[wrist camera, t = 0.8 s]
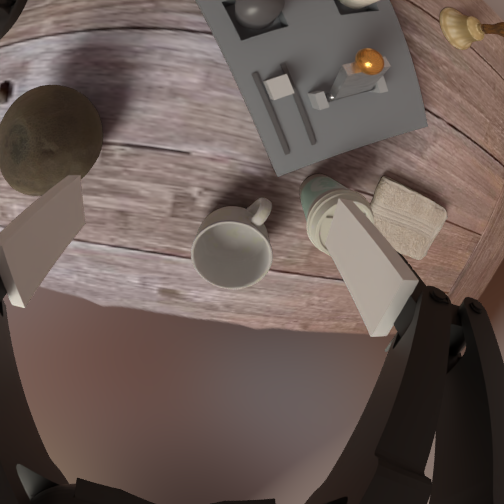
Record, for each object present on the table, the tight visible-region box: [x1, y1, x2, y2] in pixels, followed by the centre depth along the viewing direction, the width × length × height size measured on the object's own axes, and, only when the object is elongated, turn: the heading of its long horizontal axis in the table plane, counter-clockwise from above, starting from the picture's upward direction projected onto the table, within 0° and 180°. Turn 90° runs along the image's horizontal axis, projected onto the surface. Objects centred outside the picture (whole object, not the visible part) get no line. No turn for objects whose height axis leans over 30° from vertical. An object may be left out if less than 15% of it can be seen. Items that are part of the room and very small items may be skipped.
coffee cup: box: [299, 174, 374, 256], centre depth 36 cm, size 9×8×12 cm
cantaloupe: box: [0, 85, 103, 196], centre depth 26 cm, size 14×14×15 cm
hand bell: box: [440, 7, 504, 50], centre depth 18 cm, size 8×8×16 cm
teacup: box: [191, 197, 273, 289], centre depth 40 cm, size 14×11×8 cm
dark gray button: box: [235, 0, 285, 30], centre depth 21 cm, size 5×5×6 cm
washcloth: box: [370, 176, 448, 260], centre depth 44 cm, size 12×18×3 cm, turn 73°
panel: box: [195, 0, 428, 177], centre depth 27 cm, size 28×24×7 cm
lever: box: [325, 48, 391, 103], centre depth 23 cm, size 3×6×10 cm, turn 113°
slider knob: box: [263, 74, 294, 100], centre depth 28 cm, size 2×2×3 cm
